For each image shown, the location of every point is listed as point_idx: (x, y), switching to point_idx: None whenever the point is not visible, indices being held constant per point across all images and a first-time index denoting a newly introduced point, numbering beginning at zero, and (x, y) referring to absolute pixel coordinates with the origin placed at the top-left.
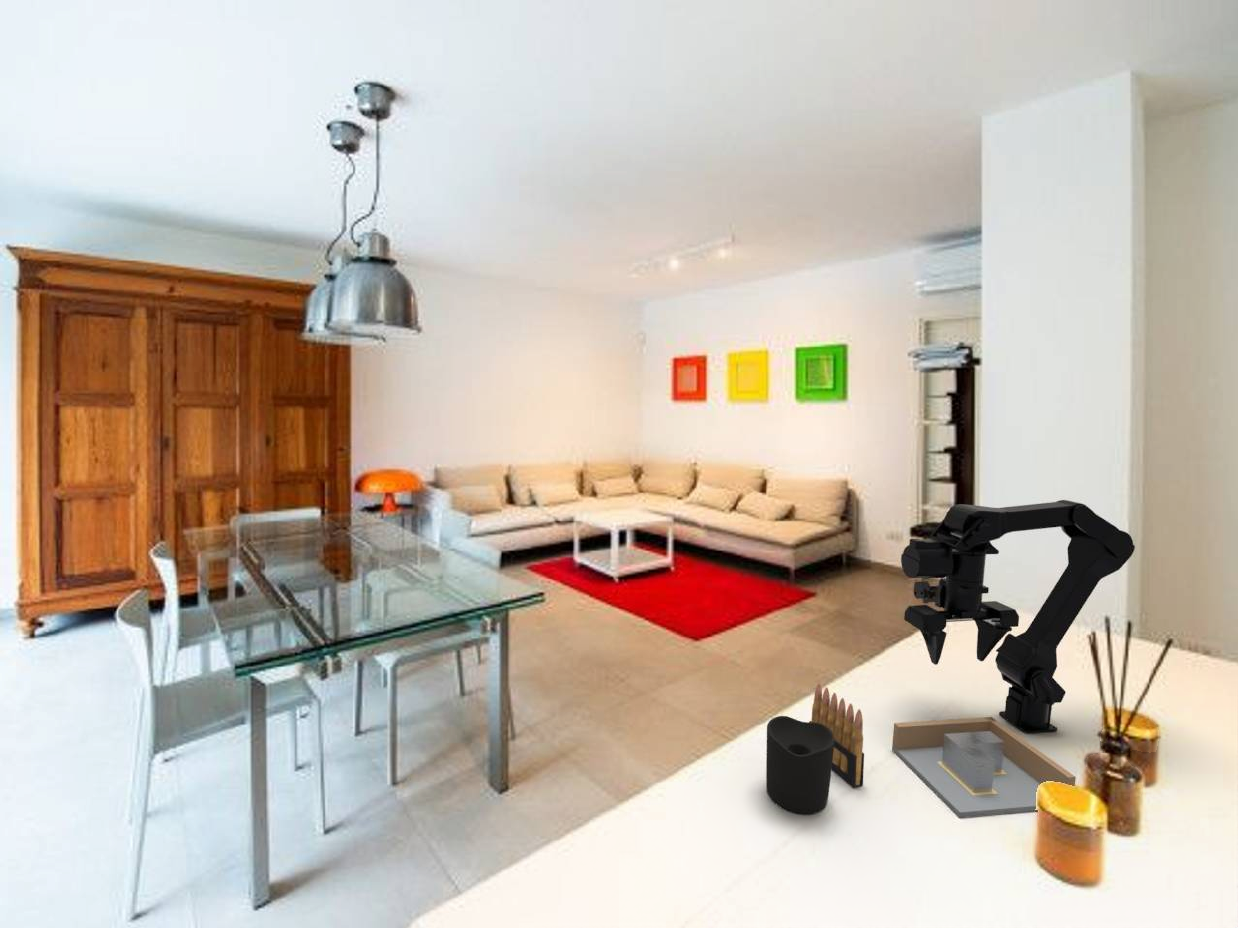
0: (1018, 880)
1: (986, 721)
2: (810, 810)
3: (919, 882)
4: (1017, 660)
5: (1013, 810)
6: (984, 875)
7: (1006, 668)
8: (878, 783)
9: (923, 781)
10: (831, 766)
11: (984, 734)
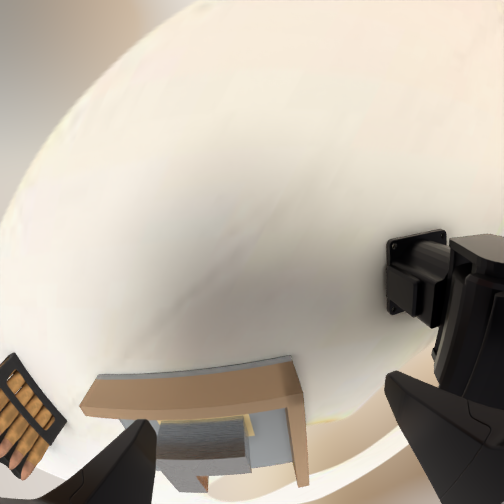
0: (182, 497)
1: (277, 408)
2: None
3: None
4: (474, 392)
5: None
6: (158, 493)
7: (455, 336)
8: (81, 422)
9: None
10: None
11: (227, 462)
